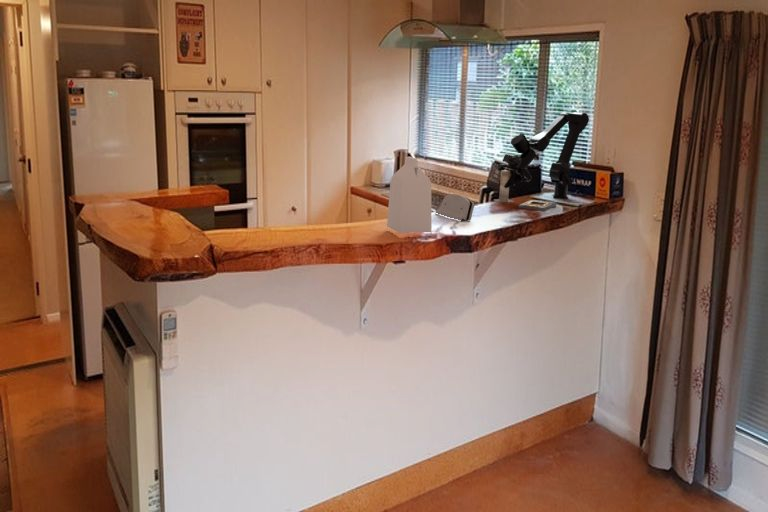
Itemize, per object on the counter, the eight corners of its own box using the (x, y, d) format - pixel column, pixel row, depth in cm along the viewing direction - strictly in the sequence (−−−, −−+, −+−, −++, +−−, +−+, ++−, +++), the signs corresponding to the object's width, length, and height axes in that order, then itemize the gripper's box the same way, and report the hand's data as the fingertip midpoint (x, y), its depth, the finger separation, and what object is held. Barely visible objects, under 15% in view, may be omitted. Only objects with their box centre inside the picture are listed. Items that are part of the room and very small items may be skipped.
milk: (386, 231, 238) (388, 155, 231) (416, 229, 242) (419, 155, 235) (400, 238, 227) (402, 160, 220) (431, 236, 231) (434, 159, 225)
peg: (498, 199, 303) (501, 170, 299) (508, 200, 302) (510, 170, 299) (498, 201, 299) (501, 171, 296) (508, 201, 298) (510, 171, 295)
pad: (505, 199, 305) (505, 198, 305) (514, 202, 299) (514, 201, 299) (492, 200, 302) (492, 199, 302) (501, 203, 296) (501, 202, 296)
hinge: (434, 214, 269) (442, 189, 268) (443, 217, 272) (451, 193, 271) (460, 222, 255) (468, 196, 254) (469, 225, 258) (478, 200, 257)
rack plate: (531, 203, 298) (531, 199, 298) (556, 205, 293) (556, 202, 292) (518, 208, 285) (518, 204, 285) (543, 211, 280) (544, 207, 279)
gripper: (501, 145, 304) (479, 171, 302) (528, 150, 288) (505, 177, 286) (514, 162, 310) (493, 188, 308) (541, 168, 294) (518, 194, 292)
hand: (501, 186), depth 298 cm, fingers closed on peg, 4 cm apart
